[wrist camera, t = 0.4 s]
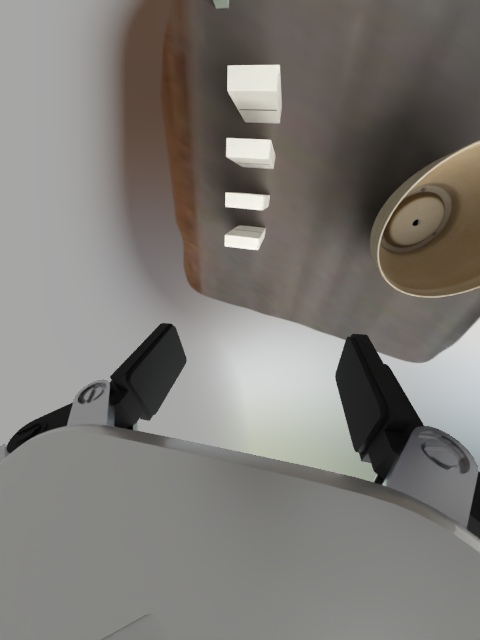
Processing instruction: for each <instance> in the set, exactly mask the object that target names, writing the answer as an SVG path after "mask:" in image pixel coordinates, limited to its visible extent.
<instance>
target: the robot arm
mask: <svg viewBox="0 0 480 640" xmlns="http://www.w3.org/2000/svg"><path fill="white" fill-rule="evenodd" d="M185 364H186V356H185V353H184V350H183V347H182V344H181V342H180V339H179V336H178V333H177V330H176V328H175V327H174V326H173V325H172V324H166V323H162V324H160V325H159V326H158V327H157V328H156V329H155V331H153V332H152V334H151V335H150V336H149V337H148V338H147V339H146V340H145V341H144V342H143V343H142V344H141V345H140V346H139V347H138V348H137V349H136V351H134V352H133V354H131V356H130V357H129V358H128V359H127V360H126V361H125V362H124V363H123V364H122V365H121V366H120V367H119V368H118V369H117V370H116V371H115V372H114V373H113V374H112V375H111V377H110V378H111V379H112V381H111V382H110V383H109V382H108V381H107V380H98V381H95V382H92V383H90V384H88V385H87V386H86V387H84V388H83V389H82V390H80V391H79V392H78V394H77V395H76V396H75V399H74V401H73V403H71V404H69V405H67V406H65V407H62V408H60V409H58V410H56V411H53V412H51V413H49V414H47V415H45V416H43V417H40V418H38V419H36V420H34V421H32V422H30V423H28V424H27V425H25V426H24V427H22V428H21V429H20V430H19V431H18V432H17V433H16V434H15V435H14V436H13V437H12V438H11V439H10V441H9V443H8V445H6V444H3V445H2V446H0V640H480V472H478V466H477V464H476V462H475V460H474V458H473V456H472V455H471V454H470V452H469V451H468V450H467V449H466V448H465V447H464V446H463V445H462V444H461V443H460V442H459V441H457V440H456V439H455V438H453V437H452V436H450V435H449V434H447V433H445V432H443V431H441V430H439V429H436V428H433V427H429V426H424V425H423V423H422V422H421V420H420V418H419V417H418V415H417V413H416V411H415V410H414V408H413V406H412V405H411V403H410V402H409V400H408V398H407V396H406V395H405V393H404V391H403V389H402V388H401V386H400V384H399V383H398V381H397V379H396V378H395V376H394V374H393V372H392V371H391V369H390V368H389V366H387V365H386V364H383V362H382V360H381V359H380V357H379V355H378V353H377V352H376V350H375V348H374V346H373V344H372V343H371V341H370V339H369V337H368V336H367V335H361V334H352V335H351V337H347V339H346V342H345V345H344V348H343V352H342V355H341V358H340V361H339V364H338V368H337V371H336V382H337V386H338V390H339V394H340V398H341V401H342V405H343V409H344V413H345V417H346V420H347V424H348V428H349V432H350V435H351V439H352V443H353V447H354V449H355V451H356V452H359V454H360V457H361V461H364V462H369V463H372V467H373V469H374V472H376V475H375V477H374V479H373V481H372V482H370V481H366V480H363V479H359V478H356V477H351V476H347V475H342V474H338V473H334V472H330V471H325V470H321V469H317V468H312V467H308V466H303V465H298V464H294V463H289V462H284V461H280V460H275V459H270V458H265V457H261V456H256V455H252V454H247V453H242V452H237V451H232V450H227V449H223V448H218V447H213V446H208V445H204V444H199V443H194V442H189V441H184V440H179V439H175V438H169V437H165V436H159V435H154V434H150V433H145V432H140V431H138V429H137V421H138V419H139V418H141V419H144V420H150V419H151V418H152V416H153V415H155V414H156V413H157V411H158V409H159V408H160V406H161V404H162V403H163V401H164V399H165V398H166V396H167V394H168V392H169V391H170V389H171V387H172V386H173V384H174V382H175V381H176V379H177V377H178V376H179V374H180V372H181V371H182V369H183V367H184V365H185Z"/></svg>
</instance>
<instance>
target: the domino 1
mask: <svg viewBox="0 0 480 640" xmlns="http://www.w3.org/2000/svg"><path fill="white" fill-rule="evenodd" d="M213 2H214V5H215V7H216V9H219V8H229V0H213Z"/></svg>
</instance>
